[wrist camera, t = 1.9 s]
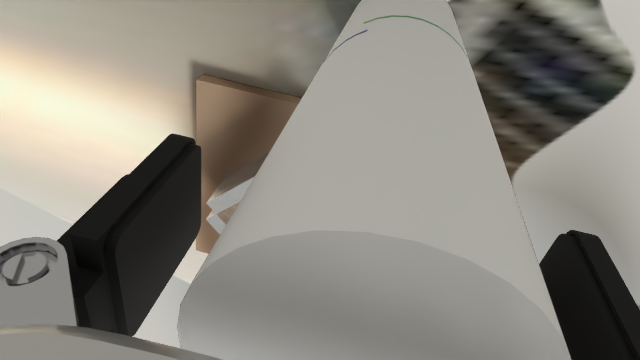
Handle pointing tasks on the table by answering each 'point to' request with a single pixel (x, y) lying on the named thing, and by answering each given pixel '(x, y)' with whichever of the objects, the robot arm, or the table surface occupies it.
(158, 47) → the table surface
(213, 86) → the v cradle
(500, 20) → the table surface
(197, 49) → the table surface
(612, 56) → the table surface
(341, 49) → the cylindrical container
